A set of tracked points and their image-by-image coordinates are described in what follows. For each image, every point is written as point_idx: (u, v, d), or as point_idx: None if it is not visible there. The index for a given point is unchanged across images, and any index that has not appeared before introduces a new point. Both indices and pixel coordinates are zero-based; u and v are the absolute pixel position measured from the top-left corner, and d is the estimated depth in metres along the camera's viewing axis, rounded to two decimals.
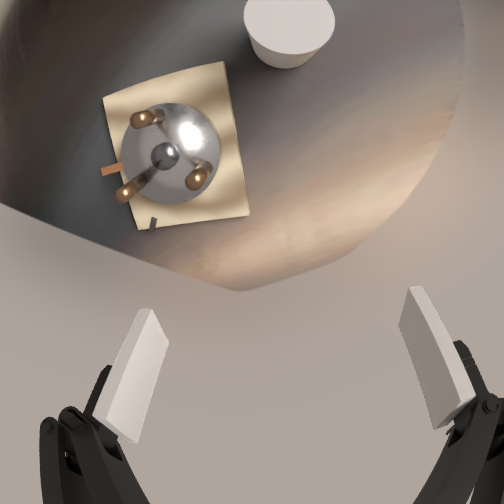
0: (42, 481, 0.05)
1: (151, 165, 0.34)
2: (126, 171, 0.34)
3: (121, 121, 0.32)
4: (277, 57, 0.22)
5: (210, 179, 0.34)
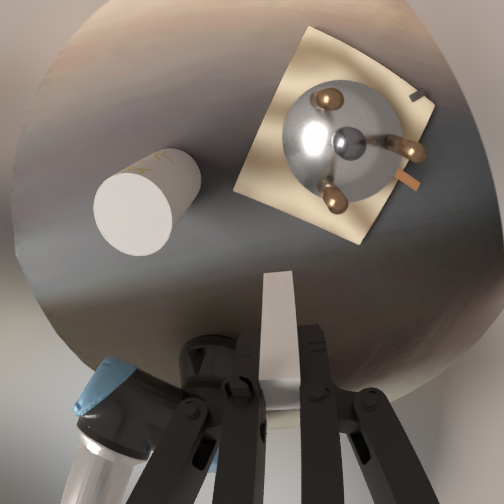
0: (147, 467, 0.06)
1: (369, 146, 0.26)
2: (397, 164, 0.27)
3: (362, 209, 0.32)
4: (167, 174, 0.24)
5: (321, 85, 0.23)
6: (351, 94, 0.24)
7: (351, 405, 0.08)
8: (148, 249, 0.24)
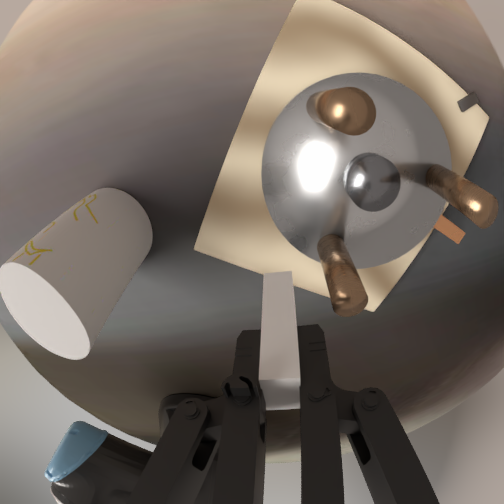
0: (147, 467, 0.06)
1: (403, 184, 0.16)
2: (439, 209, 0.17)
3: (382, 268, 0.22)
4: (78, 252, 0.14)
5: (327, 82, 0.13)
6: (377, 97, 0.13)
7: (351, 405, 0.08)
8: (72, 354, 0.15)
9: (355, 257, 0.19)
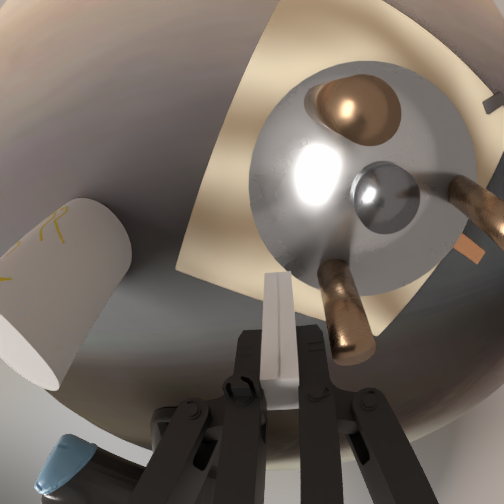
0: (148, 467, 0.06)
1: (422, 199, 0.13)
2: (460, 228, 0.14)
3: (390, 291, 0.19)
4: (39, 280, 0.11)
5: (331, 72, 0.10)
6: None
7: (350, 405, 0.08)
8: (45, 385, 0.12)
9: (362, 284, 0.16)
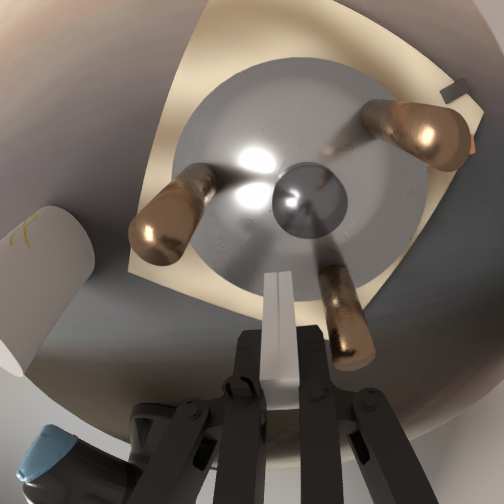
0: (148, 467, 0.06)
1: (349, 164, 0.12)
2: None
3: None
4: (6, 280, 0.12)
5: (179, 156, 0.13)
6: (230, 116, 0.12)
7: (350, 405, 0.08)
8: (14, 372, 0.12)
9: (368, 267, 0.15)
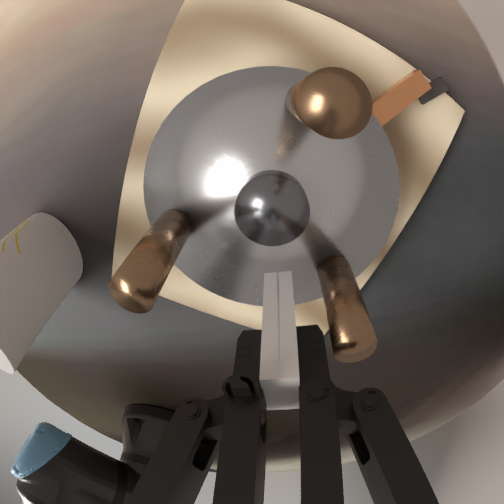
0: (148, 467, 0.06)
1: (297, 159, 0.13)
2: None
3: (317, 302, 0.20)
4: None
5: (150, 210, 0.15)
6: (174, 161, 0.13)
7: (350, 405, 0.08)
8: (6, 369, 0.13)
9: (364, 248, 0.15)
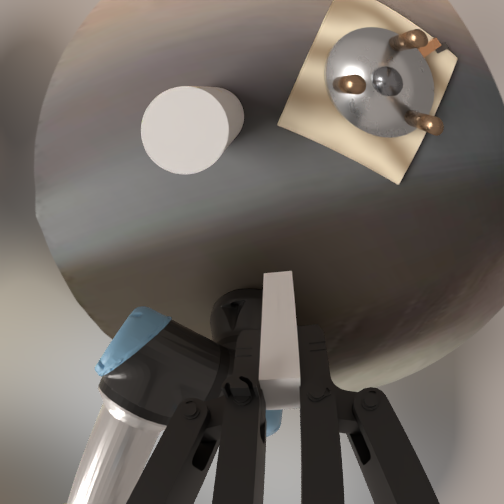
0: (148, 467, 0.06)
1: (394, 64, 0.22)
2: (415, 49, 0.20)
3: (400, 148, 0.30)
4: (220, 95, 0.22)
5: (329, 76, 0.24)
6: (344, 56, 0.23)
7: (351, 405, 0.08)
8: (199, 165, 0.23)
9: (423, 109, 0.25)
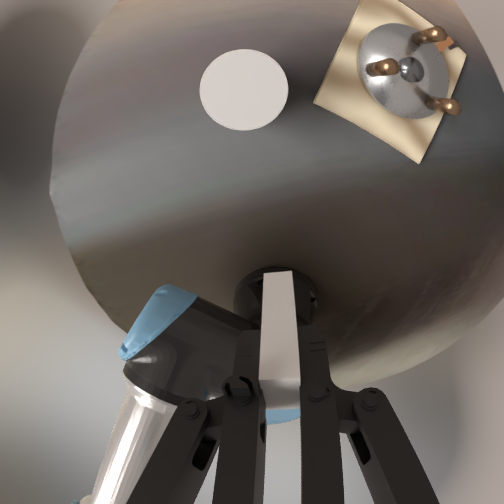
0: (148, 467, 0.06)
1: (416, 56, 0.23)
2: (433, 45, 0.22)
3: (420, 130, 0.31)
4: None
5: (362, 61, 0.25)
6: (375, 45, 0.24)
7: (351, 405, 0.08)
8: (257, 122, 0.23)
9: (440, 96, 0.26)
